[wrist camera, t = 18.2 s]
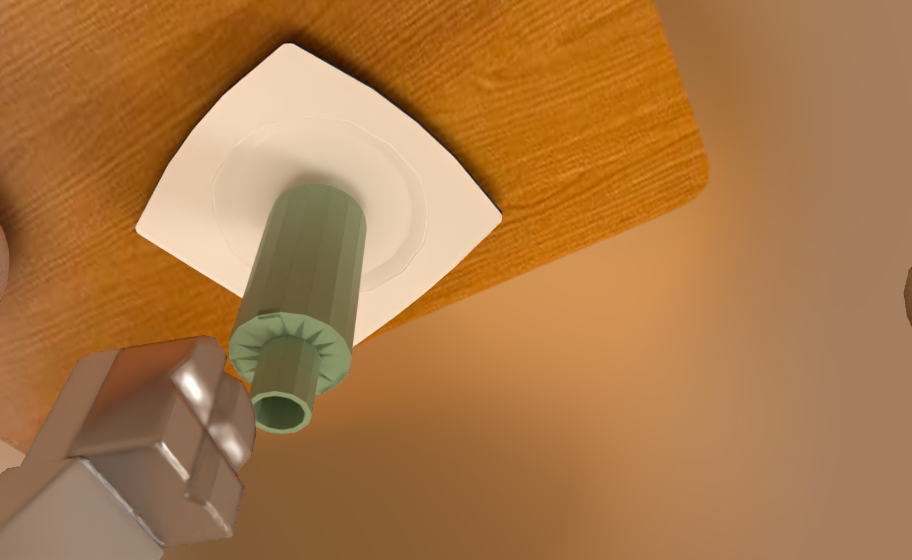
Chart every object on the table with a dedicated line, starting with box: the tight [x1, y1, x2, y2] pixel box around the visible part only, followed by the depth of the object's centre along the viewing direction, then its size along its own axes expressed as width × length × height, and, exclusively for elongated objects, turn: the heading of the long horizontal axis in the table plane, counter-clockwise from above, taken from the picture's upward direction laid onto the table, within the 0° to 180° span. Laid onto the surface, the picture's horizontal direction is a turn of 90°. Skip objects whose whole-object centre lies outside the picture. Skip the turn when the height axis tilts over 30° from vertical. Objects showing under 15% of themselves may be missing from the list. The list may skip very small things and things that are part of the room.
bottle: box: [229, 183, 367, 434], centre depth 42 cm, size 7×7×17 cm
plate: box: [135, 41, 502, 347], centre depth 50 cm, size 20×20×3 cm
